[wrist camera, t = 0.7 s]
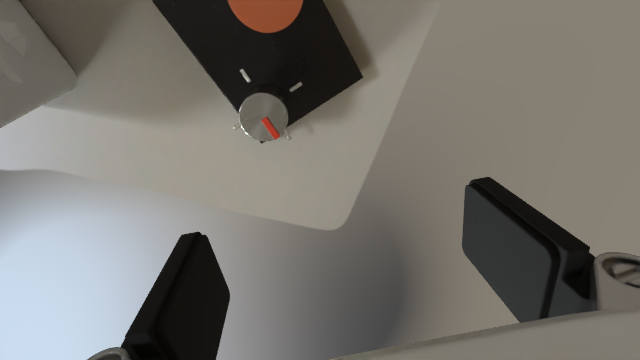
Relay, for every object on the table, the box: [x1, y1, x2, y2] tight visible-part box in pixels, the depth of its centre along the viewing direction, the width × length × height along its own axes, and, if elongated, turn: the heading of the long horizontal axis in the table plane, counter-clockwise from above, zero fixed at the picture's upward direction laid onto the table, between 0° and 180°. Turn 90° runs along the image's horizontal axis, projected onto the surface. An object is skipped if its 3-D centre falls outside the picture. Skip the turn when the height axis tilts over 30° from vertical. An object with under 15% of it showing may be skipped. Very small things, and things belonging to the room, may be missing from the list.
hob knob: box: [239, 85, 288, 141], centre depth 29 cm, size 4×4×5 cm
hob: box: [152, 0, 363, 143], centre depth 30 cm, size 17×14×3 cm
